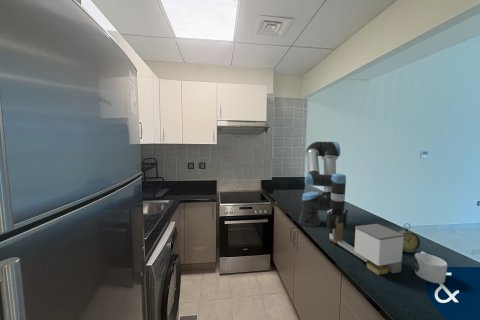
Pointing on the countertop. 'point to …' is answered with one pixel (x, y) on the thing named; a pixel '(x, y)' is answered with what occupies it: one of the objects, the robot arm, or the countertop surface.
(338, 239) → the brown block grey strip
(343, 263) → the countertop surface
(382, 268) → the yellow sponge
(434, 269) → the mug
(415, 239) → the alarm clock
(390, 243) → the toe kick cabinet
